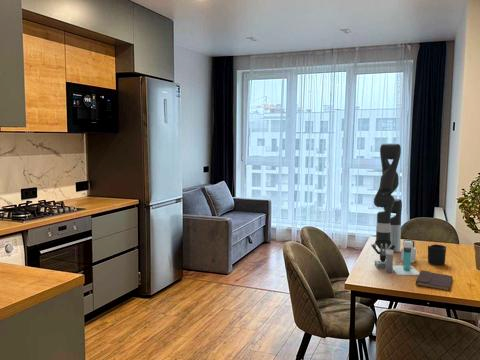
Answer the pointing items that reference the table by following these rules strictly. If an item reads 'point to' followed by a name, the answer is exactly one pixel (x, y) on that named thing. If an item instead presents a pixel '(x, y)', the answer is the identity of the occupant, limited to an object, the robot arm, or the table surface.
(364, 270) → the table surface
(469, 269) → the table surface
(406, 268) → the marker
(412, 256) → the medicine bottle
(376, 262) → the button housing
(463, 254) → the table surface
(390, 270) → the grey marker
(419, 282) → the notebook
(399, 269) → the sheet
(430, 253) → the pen holder
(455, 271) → the table surface
